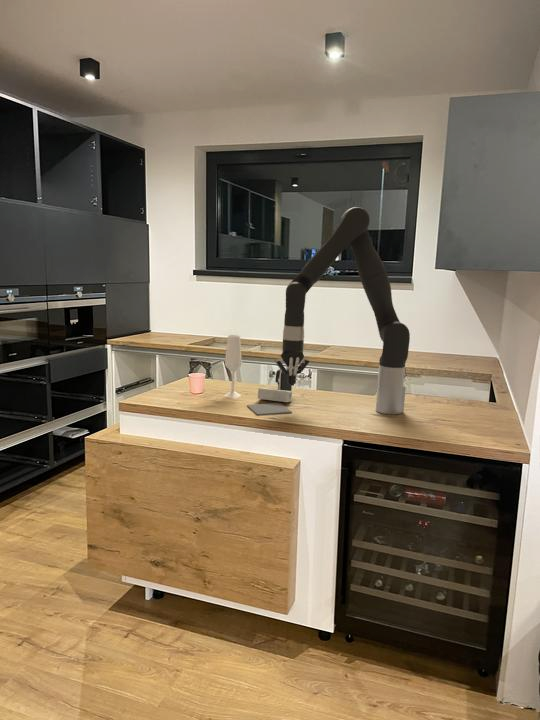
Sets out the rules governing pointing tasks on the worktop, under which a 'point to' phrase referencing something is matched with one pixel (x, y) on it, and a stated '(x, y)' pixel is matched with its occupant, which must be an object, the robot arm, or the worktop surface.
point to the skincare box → (274, 395)
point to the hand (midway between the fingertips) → (291, 385)
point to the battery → (282, 381)
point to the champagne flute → (233, 360)
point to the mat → (269, 409)
